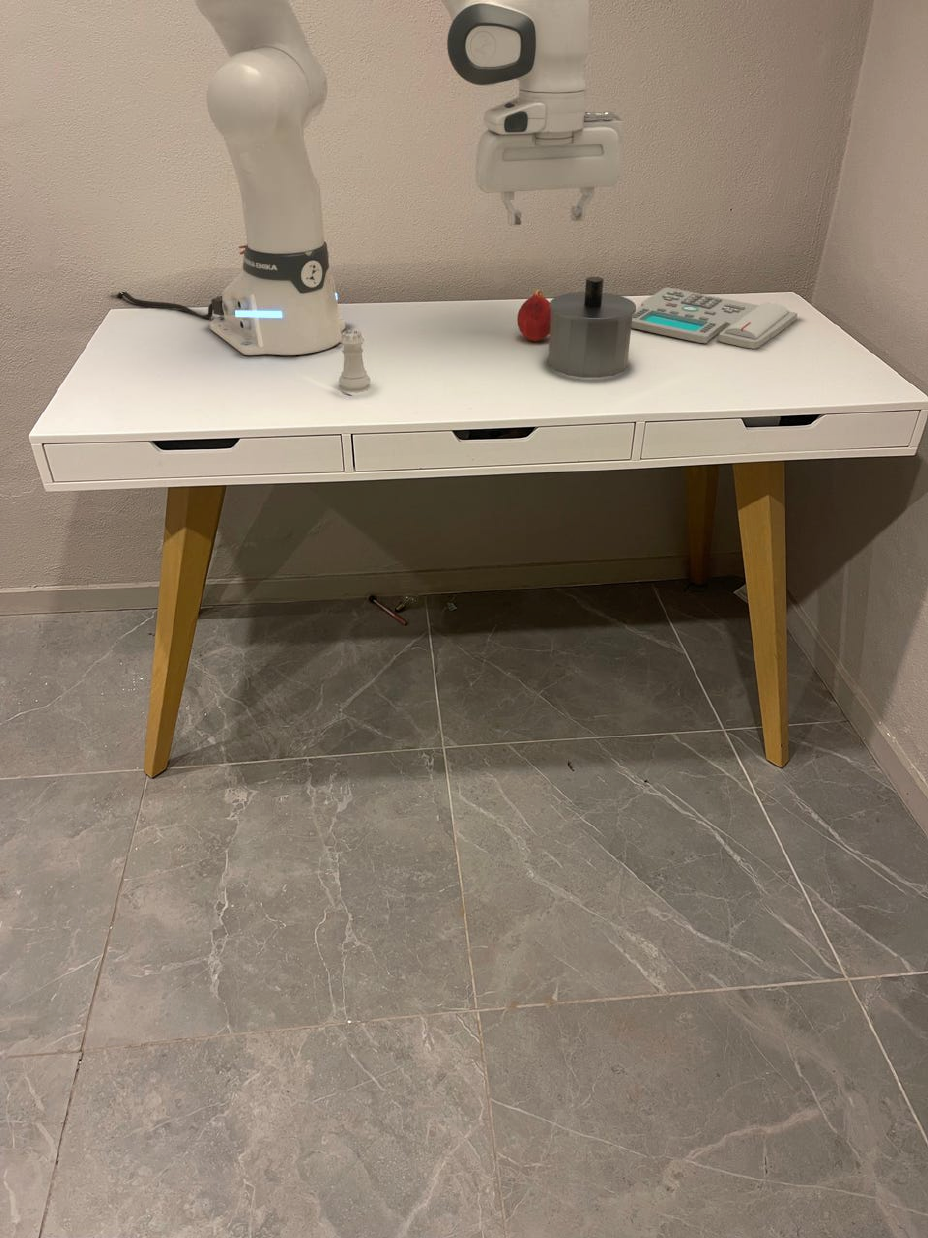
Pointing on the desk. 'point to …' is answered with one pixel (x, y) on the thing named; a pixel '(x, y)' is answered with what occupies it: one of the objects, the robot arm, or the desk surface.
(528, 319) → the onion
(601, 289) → the lid
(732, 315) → the office telephone
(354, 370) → the rook chess piece
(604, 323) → the pot
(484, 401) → the desk surface
